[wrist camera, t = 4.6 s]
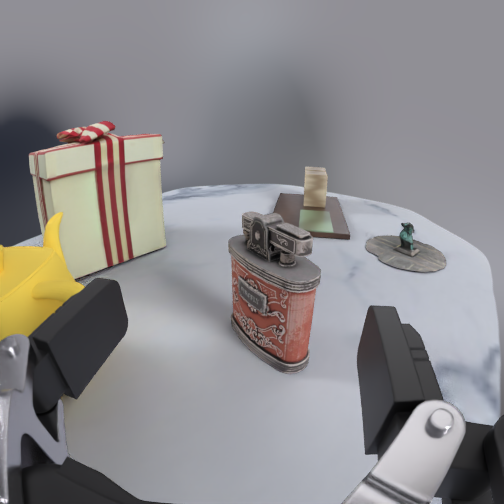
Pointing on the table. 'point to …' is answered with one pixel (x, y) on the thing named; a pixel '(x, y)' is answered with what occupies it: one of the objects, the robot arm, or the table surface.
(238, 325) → the lighter
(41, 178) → the gift box
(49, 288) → the teapot
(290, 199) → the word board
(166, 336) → the table surface
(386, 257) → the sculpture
